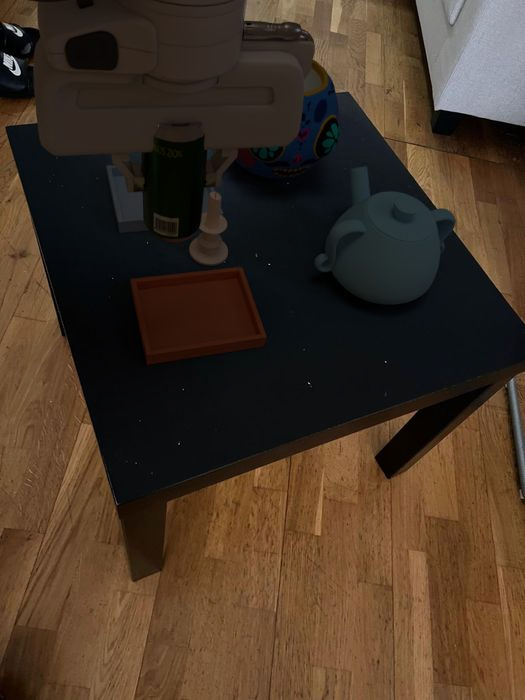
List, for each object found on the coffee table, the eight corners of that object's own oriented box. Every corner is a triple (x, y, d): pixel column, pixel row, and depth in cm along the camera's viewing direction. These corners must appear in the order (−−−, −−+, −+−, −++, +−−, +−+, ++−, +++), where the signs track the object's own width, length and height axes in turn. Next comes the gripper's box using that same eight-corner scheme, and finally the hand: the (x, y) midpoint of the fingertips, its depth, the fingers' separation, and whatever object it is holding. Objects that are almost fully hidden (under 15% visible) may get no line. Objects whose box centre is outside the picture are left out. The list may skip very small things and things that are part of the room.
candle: (220, 235, 75) (229, 175, 66) (232, 263, 72) (243, 204, 64) (184, 241, 73) (188, 179, 64) (195, 269, 71) (201, 209, 62)
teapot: (330, 327, 69) (362, 260, 59) (278, 218, 78) (297, 144, 68) (457, 303, 75) (505, 239, 65) (394, 205, 85) (428, 135, 74)
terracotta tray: (146, 365, 61) (146, 355, 60) (130, 289, 67) (130, 278, 65) (263, 346, 66) (266, 337, 64) (239, 277, 71) (242, 266, 69)
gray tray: (119, 233, 72) (118, 221, 70) (107, 177, 77) (106, 165, 76) (221, 224, 76) (223, 213, 74) (203, 172, 81) (204, 160, 80)
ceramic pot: (232, 206, 78) (246, 112, 66) (201, 130, 87) (208, 35, 75) (339, 196, 84) (371, 107, 71) (300, 125, 92) (322, 35, 80)
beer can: (199, 247, 50) (209, 134, 40) (140, 242, 49) (136, 125, 39) (201, 207, 53) (211, 93, 43) (146, 201, 52) (143, 83, 42)
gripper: (307, 1, 40) (274, 156, 52) (12, -11, 35) (48, 167, 46) (335, 47, 37) (294, 201, 49) (17, 43, 31) (54, 219, 43)
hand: (172, 185), depth 47 cm, fingers closed on beer can, 5 cm apart
